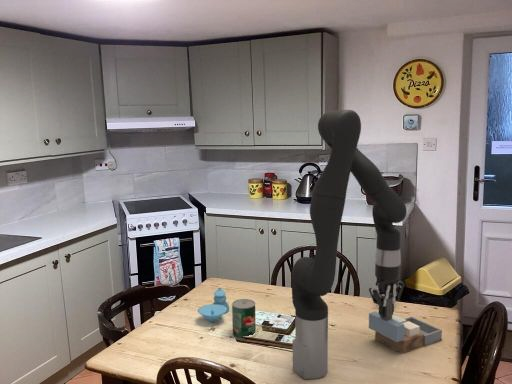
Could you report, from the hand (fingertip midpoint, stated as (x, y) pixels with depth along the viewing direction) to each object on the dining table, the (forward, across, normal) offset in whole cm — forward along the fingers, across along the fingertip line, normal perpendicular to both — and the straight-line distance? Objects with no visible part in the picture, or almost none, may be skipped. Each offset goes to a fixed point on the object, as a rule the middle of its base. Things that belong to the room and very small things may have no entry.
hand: (386, 315), depth 148 cm
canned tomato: (+11, -34, +32) cm, 48 cm away
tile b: (+7, +8, +3) cm, 10 cm away
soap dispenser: (+11, -36, +50) cm, 62 cm away
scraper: (+6, 0, 0) cm, 6 cm away
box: (+11, +15, 0) cm, 18 cm away
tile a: (+7, +8, -3) cm, 10 cm away
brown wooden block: (+11, +6, 0) cm, 12 cm away
